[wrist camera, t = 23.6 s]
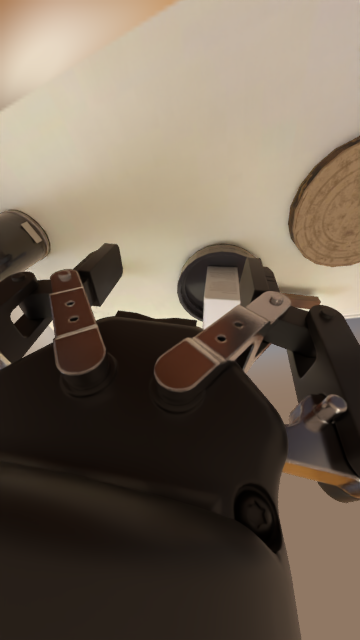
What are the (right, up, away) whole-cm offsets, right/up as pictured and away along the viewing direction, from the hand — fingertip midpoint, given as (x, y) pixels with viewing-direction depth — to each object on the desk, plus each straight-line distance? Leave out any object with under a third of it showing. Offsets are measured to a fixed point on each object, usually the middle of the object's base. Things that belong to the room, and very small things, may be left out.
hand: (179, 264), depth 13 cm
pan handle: (+20, +1, +25) cm, 32 cm away
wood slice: (+24, +13, +17) cm, 32 cm away
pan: (+8, +4, +28) cm, 29 cm away
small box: (+8, +4, +28) cm, 29 cm away
